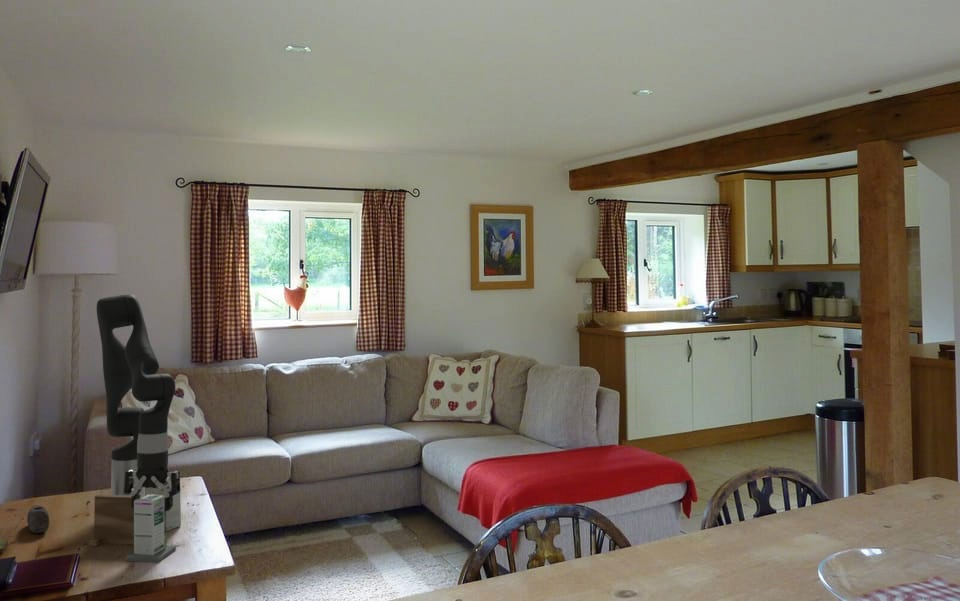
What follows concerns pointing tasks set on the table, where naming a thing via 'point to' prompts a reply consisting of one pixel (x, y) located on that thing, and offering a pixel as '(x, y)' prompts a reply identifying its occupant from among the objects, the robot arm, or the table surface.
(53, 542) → the table surface
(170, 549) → the mat
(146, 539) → the syrup box
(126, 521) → the brown wooden standing panel
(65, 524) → the table surface
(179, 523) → the skincare box
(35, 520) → the perforated stone tool
